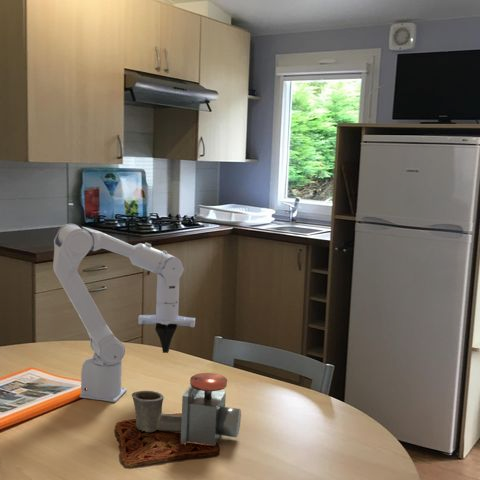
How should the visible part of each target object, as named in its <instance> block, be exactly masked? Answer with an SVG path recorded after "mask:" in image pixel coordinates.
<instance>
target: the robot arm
mask: <svg viewBox="0 0 480 480" xmlns="http://www.w3.org/2000/svg"><path fill="white" fill-rule="evenodd" d="M53 245H54V246H53V247H54V249H53V251H54V252H53V261H52V263H53V265H52V268H53V269H52V270H53V271H54V274H55V276H56V278H57V279H58V281H59V283H60V285H61V287H62V289H63V290H64V292H65V293H66V295H67V297H68V299H69V301H70V302H71V303H70V304H72V306H73V308H74V310H75V312H77V315H78V317H79V319H80V320H81V322H82V324H83V326H84V327H85V330H86V333H87V334H88V336H89V339H90V340H89V343H90V348H91V350H92V351H93V352H94V353H93V356H92V357H90V358H89V357H88V358H86V359H85V360H84V362H83V363H82V367H81V373H80V375H81V376H80V378H81V379H80V381H81V382H80V385H81V386H80V394H79V398H83V399H88V400H89V399H90V400H97V401H103V402H104V401H105V402H111V403H116V402H117V401H118V400H119V399H120V398H121V397H122V396H123V395H124V394H125V393H126V392H127V391H128V389H127V388H126V387H122V375H123V374H122V372H123V371H122V370H123V369H122V368H123V359H124V357H125V354H126V348H125V345H124V343H123V342H122V341H120V340H119V339H118V338H117V337H116V336H115V335H114V333H113V332H112V330H111V328H110V327H109V326H108V325H107V323H106V321H105V319H104V318H103V315H102V314H101V312H100V310H99V308H98V306H97V305H96V303H95V301H94V299H93V297H92V295H91V293H90V291H89V290H88V288H87V286H86V284H85V283H84V281H83V279H82V277H81V276H80V274H79V272H78V269H79V266H80V264H81V262H82V260H83V259H85V257H86V256H87V254H88V253H89V252H90V251H93V252H96V251H98V250H101V249H104V250H107V251H109V252H112V253H115V254H118V255H122V256H124V257H127V258H129V261H130V263H131V264H132V266H135V267H138V268H141V269H143V270H146V271H148V272H151V273H154V274H156V280H157V281H156V304H155V314H140V315H138V319H137V320H138V321H137V322H138V325H143V324H144V325H145V324H146V325H155V329H154V330H155V332H156V333H157V336H158V338H159V341H160V344H161V350H162V353H163V354H169V352H170V346H171V342H172V340H173V336H174V334H175V332H176V330H177V329H178V326H181V327H184V326H185V327H190V328H195V325H196V317H189V316H182V315H179V307H180V306H179V305H180V303H179V299H180V278H181V276H183V273H184V271H185V267H183V262H182V261H181V260H180V258H178V257H176V256H174V255H173V254H169V253H168V251H167V250H164V249H163V250H159V249H156V248H155V247H152V244H151V243H148V242H145V243H141V242H140V243H137V244H135V245H132V244H130V243H128V242H126V241H124V240H122V239H118V238H116V237H114V236H111V235H110V234H107V233H105V232H102V231H101V230H100V231H99V230H96V229H93V228H90V227H85V226H81V227H80V226H79V225H77V224H75V223H67V224H64V225H62V226H61V227H60V228H59V229H58V231H57V233H56V235H55V237H54V239H53ZM86 388H87V390H86Z"/></svg>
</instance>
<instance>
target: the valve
mask: <svg viewBox="0 0 480 480" xmlns="http://www.w3.org/2000/svg"><path fill="white" fill-rule="evenodd" d="M227 386H228V378H226V376H224V375H222V374H219V373H214V372H201V373H200V372H199V373H196V374H193V375H192V376H190V379H189V386H188V388H187V389H186V390H185V392H184V393H183V395H182V398H181V399H182V401H181V415H182V422H181V432H180V443H181V442H183V443H186V442H187V441H190V442H197V443H205V444H211V445H215V443H216V442H217V443H218V441H219V439H220V437H221V436H223V437H224V436H225V437H231V438H238V436H239V433H240V427H241V419H242V410H241V408H237V407H230V406H228V407H227V406H226V395H227V394H226V393H227V392H226V390H224V389H225V388H226V387H227Z"/></svg>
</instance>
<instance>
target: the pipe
mask: <svg viewBox="0 0 480 480" xmlns="http://www.w3.org/2000/svg"><path fill="white" fill-rule="evenodd" d="M131 398H132V402H133V405H134V411H135V412H134V413H135V426H136V427H135V428H136V429H137V430H138V431H140V430H142V431H141V432H143V431H145V432H144V433H153V432H157V431H156V430H159V431H158V432H167V431H169V433H170V432H171V433H181V422H182V414H167V413H163V411H162V410H163V402H164V399H165V397H164V395H163V394H162V393H161V392H158V391H154V390H140V391H135V392H133V393H132V394H131Z"/></svg>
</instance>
